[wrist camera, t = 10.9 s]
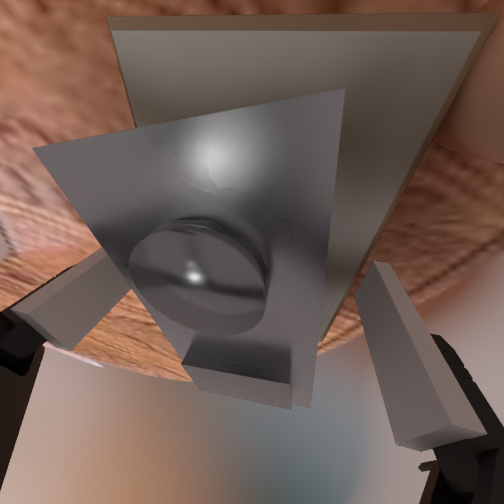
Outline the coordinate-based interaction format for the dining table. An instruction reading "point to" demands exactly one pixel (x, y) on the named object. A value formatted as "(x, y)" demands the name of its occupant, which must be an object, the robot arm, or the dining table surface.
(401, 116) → the stand
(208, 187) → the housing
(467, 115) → the beige egg
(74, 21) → the dining table surface
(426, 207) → the dining table surface
